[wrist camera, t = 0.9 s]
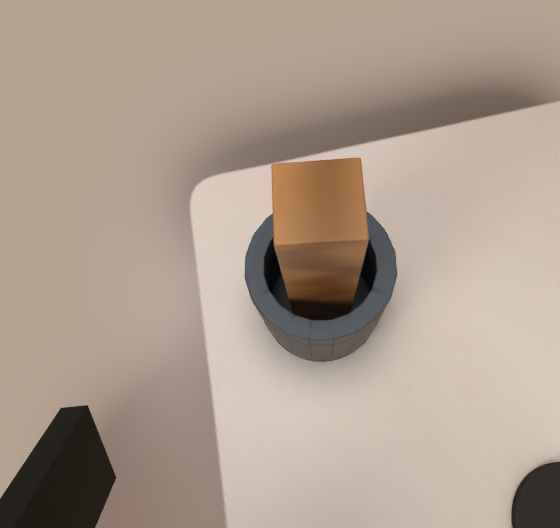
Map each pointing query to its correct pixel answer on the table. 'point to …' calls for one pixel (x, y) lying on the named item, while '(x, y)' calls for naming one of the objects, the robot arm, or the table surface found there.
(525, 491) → the coaster
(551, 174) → the table surface
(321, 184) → the wooden block
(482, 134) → the table surface
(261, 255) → the jar
